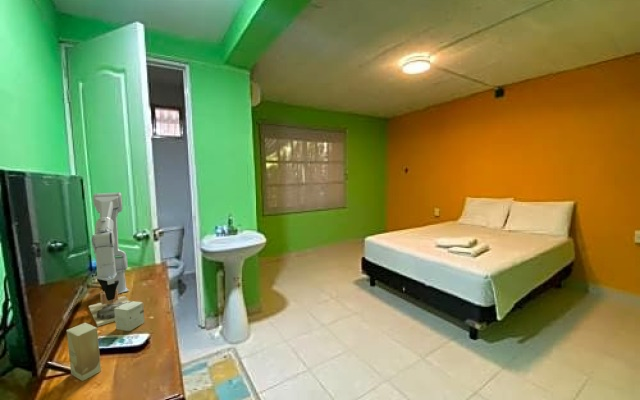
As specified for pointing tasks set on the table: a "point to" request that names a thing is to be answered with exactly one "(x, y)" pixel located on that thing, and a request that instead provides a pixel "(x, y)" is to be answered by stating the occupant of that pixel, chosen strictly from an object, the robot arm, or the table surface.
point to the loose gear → (104, 299)
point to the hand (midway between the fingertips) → (109, 297)
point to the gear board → (99, 306)
